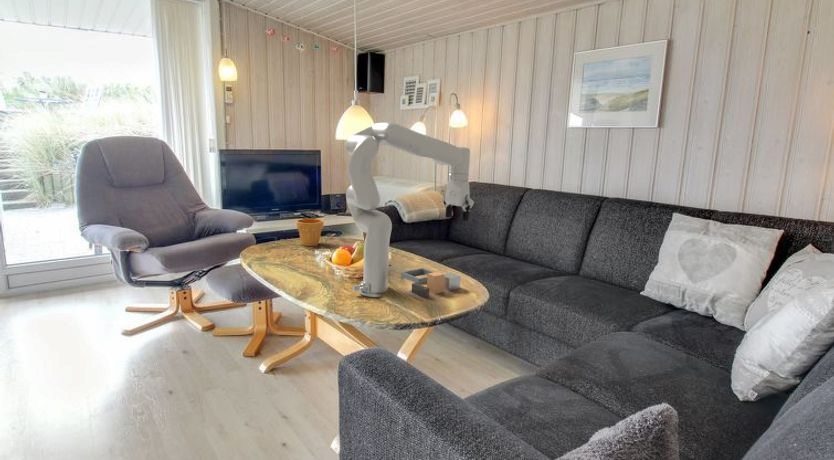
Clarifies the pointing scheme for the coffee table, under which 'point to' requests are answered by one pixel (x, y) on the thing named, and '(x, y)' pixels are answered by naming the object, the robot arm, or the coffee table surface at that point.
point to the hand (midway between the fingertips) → (456, 218)
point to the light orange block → (435, 282)
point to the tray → (416, 272)
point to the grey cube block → (451, 281)
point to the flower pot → (309, 231)
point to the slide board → (432, 296)
